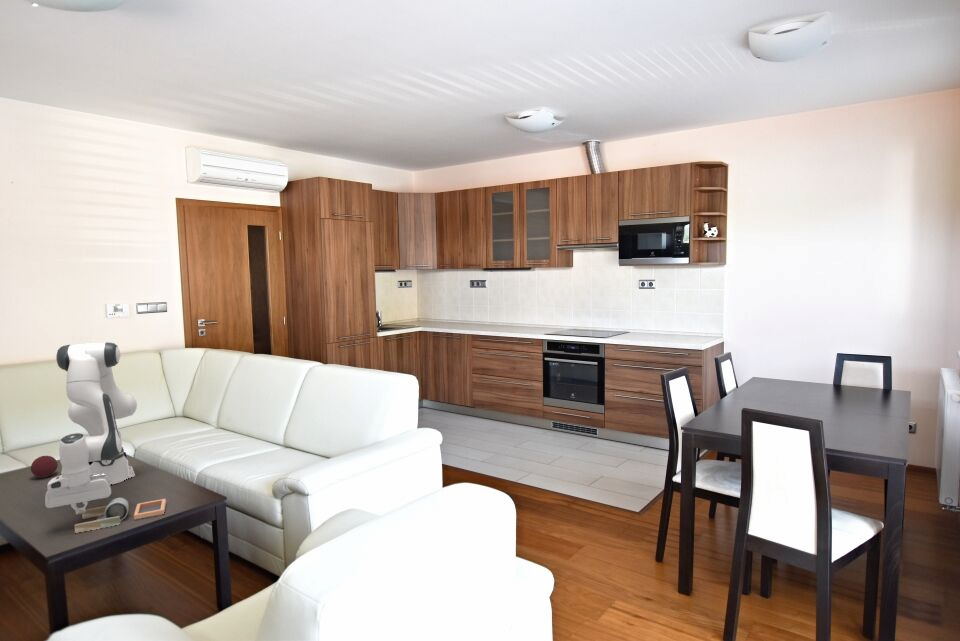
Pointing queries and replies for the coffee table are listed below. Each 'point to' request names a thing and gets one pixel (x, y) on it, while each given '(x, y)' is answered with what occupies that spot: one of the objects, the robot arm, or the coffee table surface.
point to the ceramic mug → (116, 509)
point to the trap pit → (150, 509)
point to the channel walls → (97, 523)
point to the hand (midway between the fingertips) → (80, 513)
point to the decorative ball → (44, 466)
